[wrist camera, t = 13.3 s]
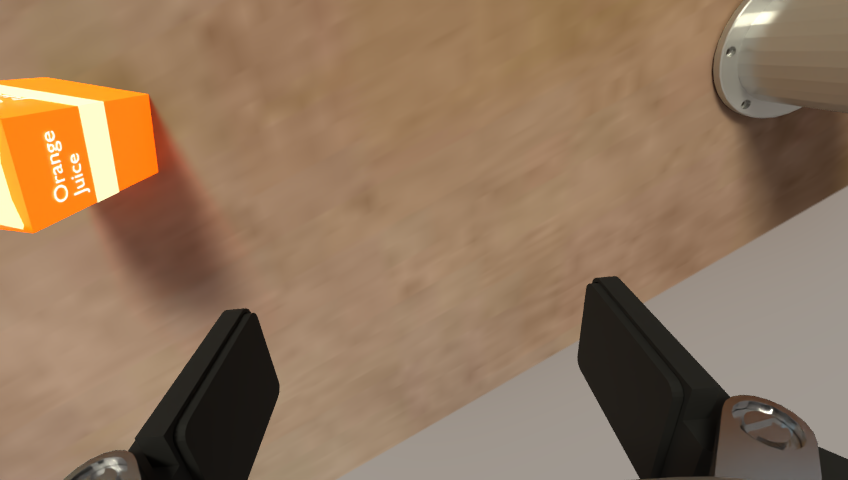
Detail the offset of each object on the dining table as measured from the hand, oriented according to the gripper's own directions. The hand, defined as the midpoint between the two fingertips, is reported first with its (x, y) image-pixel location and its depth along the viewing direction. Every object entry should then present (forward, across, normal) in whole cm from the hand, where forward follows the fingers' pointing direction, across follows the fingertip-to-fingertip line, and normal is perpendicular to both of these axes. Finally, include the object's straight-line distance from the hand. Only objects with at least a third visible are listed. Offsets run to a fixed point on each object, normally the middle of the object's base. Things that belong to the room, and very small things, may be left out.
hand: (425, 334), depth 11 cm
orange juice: (+31, +29, -3) cm, 42 cm away
